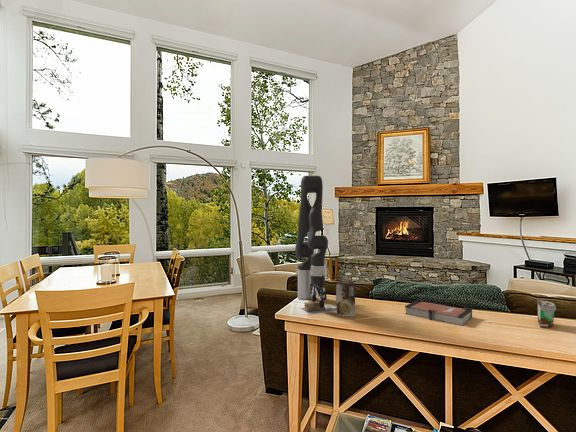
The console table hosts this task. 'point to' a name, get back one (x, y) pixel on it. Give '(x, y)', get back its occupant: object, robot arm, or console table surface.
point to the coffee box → (345, 298)
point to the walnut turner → (317, 306)
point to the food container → (546, 314)
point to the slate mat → (318, 311)
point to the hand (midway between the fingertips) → (317, 305)
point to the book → (439, 312)
